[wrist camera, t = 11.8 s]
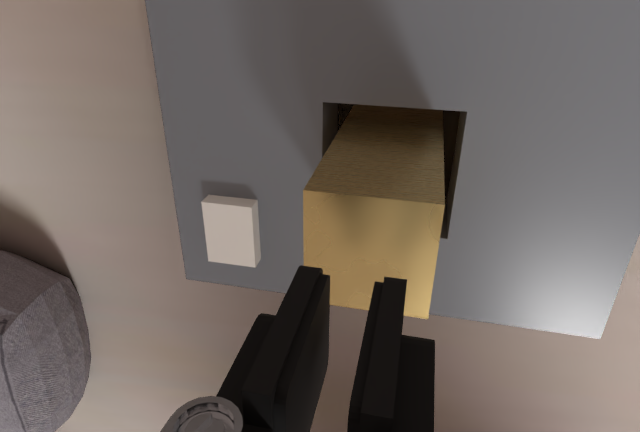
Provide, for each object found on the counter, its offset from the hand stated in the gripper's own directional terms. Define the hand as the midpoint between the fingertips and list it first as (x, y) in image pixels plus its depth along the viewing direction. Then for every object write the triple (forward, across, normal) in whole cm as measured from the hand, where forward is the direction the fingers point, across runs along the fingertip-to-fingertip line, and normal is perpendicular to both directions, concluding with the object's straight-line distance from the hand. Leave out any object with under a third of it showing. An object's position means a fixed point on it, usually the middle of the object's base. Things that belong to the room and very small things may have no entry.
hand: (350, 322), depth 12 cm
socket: (+13, 0, 0) cm, 13 cm away
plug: (+13, 0, 0) cm, 13 cm away
